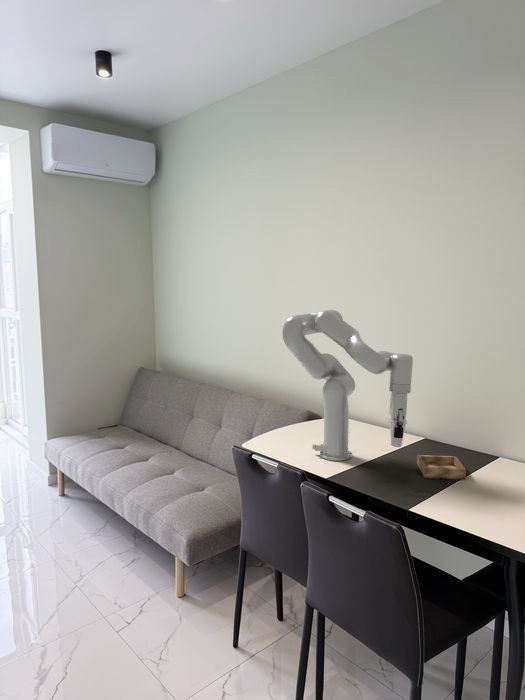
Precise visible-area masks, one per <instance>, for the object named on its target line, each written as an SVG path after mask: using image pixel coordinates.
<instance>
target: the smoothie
mask: <svg viewBox="0 0 525 700" xmlns="http://www.w3.org/2000/svg"><path fill="white" fill-rule="evenodd" d="M397 419H399V417H398V418H397ZM397 422H398V421H397ZM388 423H389V428H390V429H389V430H390V446H392V447H395V448H400V447H402V444H403V439H404V437H403V438H394V427H395V419H392V418H391V417H390V418H389V421H388ZM407 423H408V421H407V419H405V420H403V428H404V429H403V436H404V435H405V431H406V430H405V429H406V425H408V424H407Z"/></svg>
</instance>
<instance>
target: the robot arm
mask: <svg viewBox="0 0 525 700" xmlns="http://www.w3.org/2000/svg"><path fill="white" fill-rule="evenodd" d="M320 333H322V334H324V335H325V336H326V337H328V338H329V339H331V340H332V341H333V342H334V343H336V344H337V345H338V346H339V347H341V348H342V349H343V350H344V351H345V353H346V354H348V356H349V357H350V358H351V359H352V360H353V361H354V362H355V363H357V364H358V365H359V366H361V368H364V369H365V370H366V371H367V372H369V373H371V374H374V375H380V374H383V373H384V372H388V371H390V374H389V376H390V377H389V392H391V393H390V401H389V412H388V413H389V416H390V419H391V418H392V419H395V427H394V438H403V439H404V435H403V429H404V428H403V420H407V419H406V417H407V409H408V407H407V406H408V394H411V391H412V390H411V389H412V376H413V361H414V358H413V356H412V355H411V354H407V353H395V352H394V353H393V352H390V351H385V350H384V351H383V350H380V351H375V350H374V349H373V348H371V347H370V346H369V345H368V344H366V343H365V342H364V341H363V339H362V338H361V334H360V333H359V331H358V330H357V329H356V328H355V327H353V326H352V325H350V324H349V323H348V322H346V321H345V320H344V319H343V316H342V314H341V313H340V312H339V311H337V310H335V309H328V310H322V311H320V312H319V311H318V312H311V313H302V314H295V315H291V316H290V317H288V319H286V321H285V322H284V323H283V327H282V340H283V342H284V344H285V347H287V349H288V350H289V351H290V352H291V353H292V355H293V356H294V357H295V358H296V359H297V361H298V362H299V363H300V365H301V366H302V367H303V368H304V369H305V371H306V372H307V373H308V374H309V375H310V377H312V378H313V379H314V380H325V383H324V384H323V387H322V397H323V399H322V400H323V442H322V443H321V444H312V450H315V452H319V457H321V458H322V459H325V460H327V461H332V462H333V461H335V462H337V461H340V462H341V461H348V460H350V459H352V457H353V453H352V451H350V450H349V433H350V432H349V427H350V426H349V424H350V421H349V419H350V413H349V411H350V409H349V402H348V399H349V398H348V397H350V396H351V395H352V394H353V393H354V391H355V390H356V381H355V378H353V376H352V375H351V374H350V372H349V371H348V370H347V369H346V367H344V365H342V363H341V362H340V361H339V359H337V358H336V357H335V355H334V356H333V355H332V354H330V353H322V352H320V351H319V350H318V349H317V347H315V345H314V344H313V343H312V342H311V341H310V340H309V339H307V338H306V335H307V336H308V335H312V334H320ZM397 418H399V419H397ZM397 421H398V422H397Z"/></svg>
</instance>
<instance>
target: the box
mask: <svg viewBox="0 0 525 700" xmlns="http://www.w3.org/2000/svg"><path fill="white" fill-rule="evenodd" d="M416 465H417V467H418V469H419V471H420V473H421V475H422V477H423V478H424V479H441V480H442V479H444V480H445V479H446V480H464V479H466V480H467V468H465V466H464V465H463V463H462V462H461V461H460V460H459V458H458V457H457V456H456V455H455V456H453V455H452V456H451V455H427V454H426V455H424V454H417V455H416Z"/></svg>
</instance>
